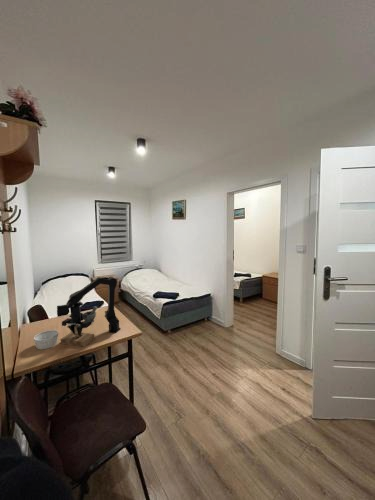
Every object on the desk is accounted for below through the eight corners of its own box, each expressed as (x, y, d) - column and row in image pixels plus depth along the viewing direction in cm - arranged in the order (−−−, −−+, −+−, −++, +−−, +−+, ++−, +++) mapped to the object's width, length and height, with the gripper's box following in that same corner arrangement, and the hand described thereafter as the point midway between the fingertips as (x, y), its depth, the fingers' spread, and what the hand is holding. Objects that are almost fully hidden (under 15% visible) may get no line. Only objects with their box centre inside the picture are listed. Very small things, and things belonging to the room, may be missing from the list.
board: (94, 338, 141) (94, 334, 141) (84, 346, 132) (84, 342, 131) (72, 335, 146) (72, 331, 145) (60, 343, 136) (60, 339, 135)
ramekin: (55, 337, 144) (54, 327, 143) (62, 343, 136) (61, 333, 135) (32, 346, 134) (30, 335, 133) (38, 353, 125) (37, 343, 125)
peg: (81, 336, 140) (80, 325, 139) (78, 338, 137) (77, 327, 136) (77, 335, 140) (76, 324, 139) (74, 338, 137) (73, 326, 136)
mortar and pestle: (82, 325, 160) (81, 310, 158) (82, 320, 168) (81, 306, 166) (98, 322, 164) (97, 308, 163) (98, 317, 173) (96, 304, 171)
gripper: (96, 308, 142) (97, 330, 144) (72, 307, 146) (74, 327, 148) (84, 315, 131) (86, 339, 133) (60, 313, 135) (62, 336, 137)
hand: (77, 335), depth 138 cm, fingers closed on peg, 3 cm apart
